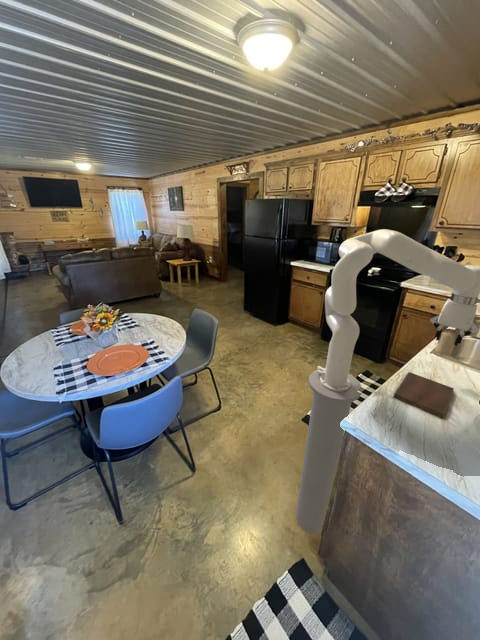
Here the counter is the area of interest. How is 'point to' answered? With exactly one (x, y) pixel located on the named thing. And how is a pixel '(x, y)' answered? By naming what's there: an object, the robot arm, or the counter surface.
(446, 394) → the walnut board
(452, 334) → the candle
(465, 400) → the counter surface
